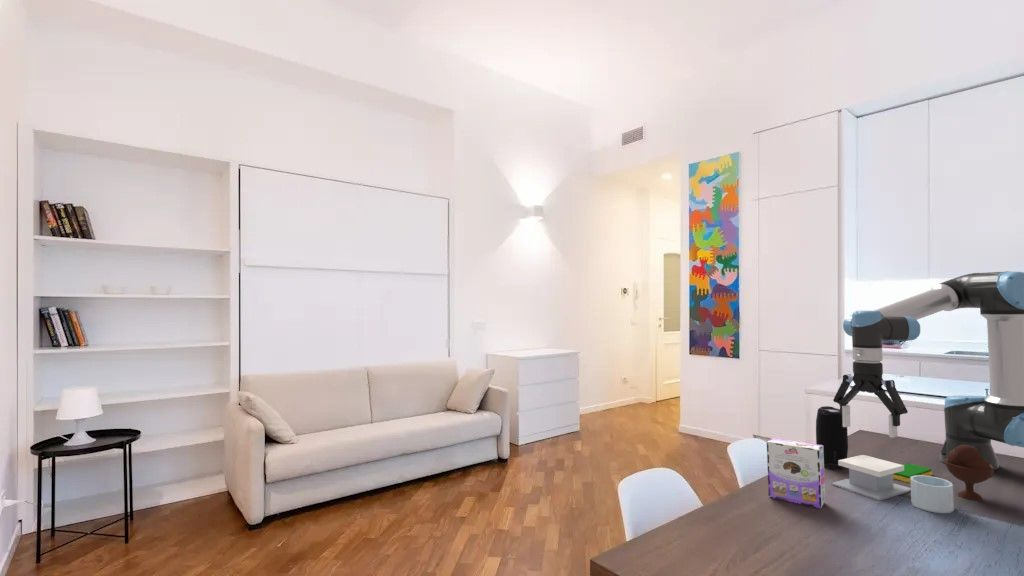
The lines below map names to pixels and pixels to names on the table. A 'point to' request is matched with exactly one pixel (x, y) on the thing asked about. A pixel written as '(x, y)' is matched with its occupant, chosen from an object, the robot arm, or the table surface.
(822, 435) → the portable speaker
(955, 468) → the ice cream bowl
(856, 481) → the stand
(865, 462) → the white flat square block
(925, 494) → the ceramic bowl
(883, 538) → the table surface
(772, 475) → the candy box
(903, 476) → the dish sponge
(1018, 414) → the robot arm
